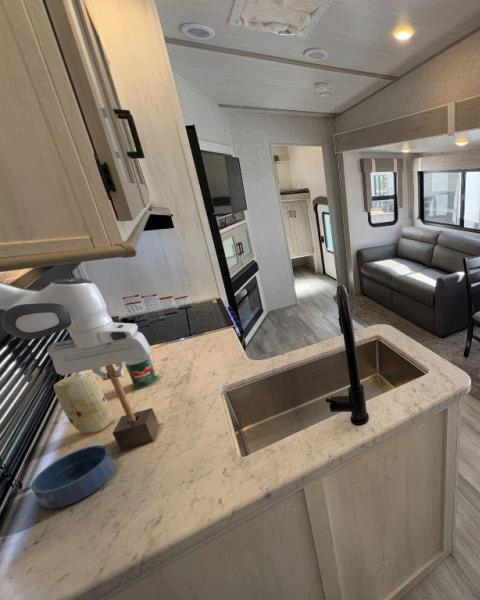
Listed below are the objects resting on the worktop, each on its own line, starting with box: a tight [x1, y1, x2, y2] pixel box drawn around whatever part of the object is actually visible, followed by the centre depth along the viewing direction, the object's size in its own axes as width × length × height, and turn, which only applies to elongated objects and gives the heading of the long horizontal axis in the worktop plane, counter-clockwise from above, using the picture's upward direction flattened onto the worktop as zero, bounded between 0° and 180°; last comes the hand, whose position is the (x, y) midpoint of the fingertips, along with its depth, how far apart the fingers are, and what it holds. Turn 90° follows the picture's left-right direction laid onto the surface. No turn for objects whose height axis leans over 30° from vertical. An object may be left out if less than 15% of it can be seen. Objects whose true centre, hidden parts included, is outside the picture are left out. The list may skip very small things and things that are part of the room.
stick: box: [104, 364, 137, 423], centre depth 92 cm, size 2×2×22 cm
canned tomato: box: [124, 354, 159, 389], centre depth 125 cm, size 8×8×11 cm
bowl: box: [30, 444, 117, 510], centre depth 81 cm, size 14×14×6 cm
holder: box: [112, 407, 160, 452], centre depth 96 cm, size 8×8×7 cm
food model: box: [53, 372, 115, 434], centre depth 99 cm, size 10×7×20 cm
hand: (114, 377), depth 89 cm, fingers closed on stick, 1 cm apart
